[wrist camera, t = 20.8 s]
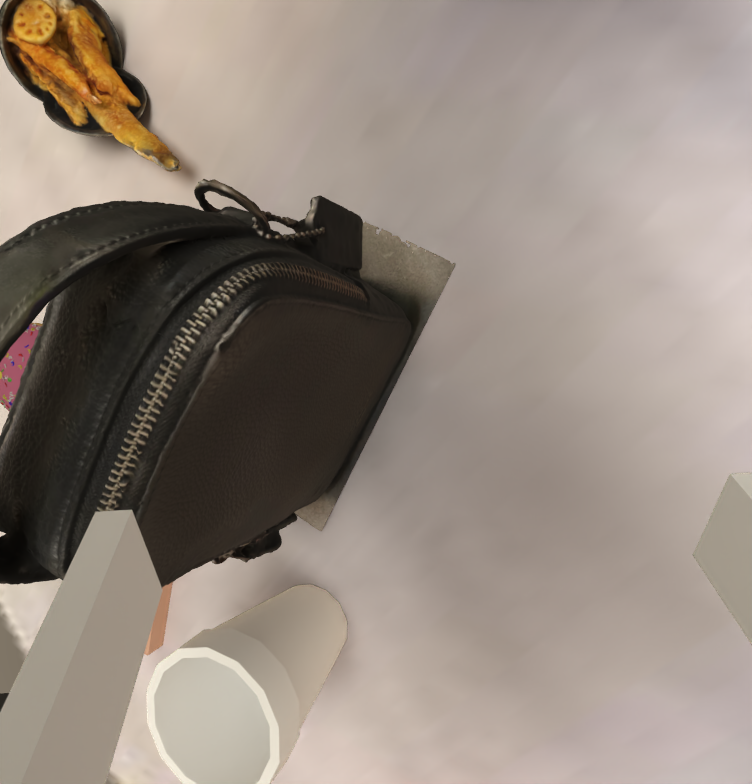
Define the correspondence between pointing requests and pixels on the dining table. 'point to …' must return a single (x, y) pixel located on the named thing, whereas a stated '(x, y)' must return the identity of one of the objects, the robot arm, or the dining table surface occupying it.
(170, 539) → the shoulder bag
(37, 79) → the fried shrimp in bowl
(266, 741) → the foam cup
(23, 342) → the cupcake
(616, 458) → the dining table surface
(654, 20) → the dining table surface
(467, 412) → the dining table surface
